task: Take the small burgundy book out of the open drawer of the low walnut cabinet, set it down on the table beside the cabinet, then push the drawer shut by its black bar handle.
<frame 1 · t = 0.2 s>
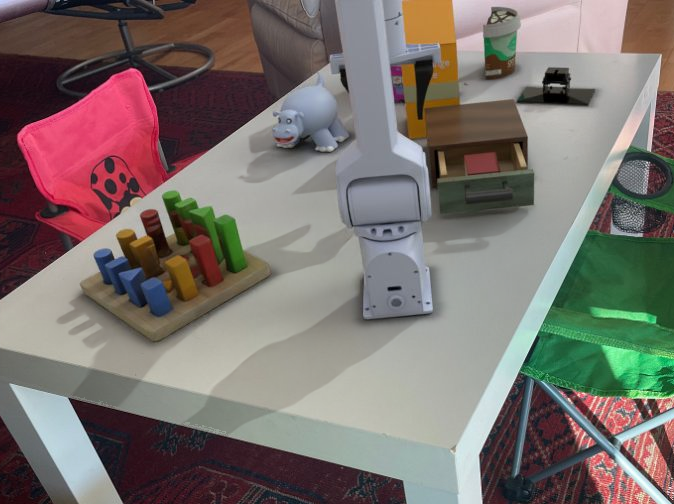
hand: (392, 120, 104), 10 cm above the table, tool pointing down, fingers open, 7 cm apart
candy bar box: (424, 99, 137), on the table
orange juice: (434, 128, 126), on the table
book: (482, 185, 104), point 2 cm above the table, touching drawer
drawer: (482, 178, 103), point 3 cm above the table, slide at 8.5 cm, touching book
hippopotamus toy: (309, 146, 125), on the table
toy refrigerator: (380, 88, 143), on the table
build plate: (556, 97, 131), on the table
peg board: (177, 285, 95), on the table
food container: (504, 71, 144), on the table
cabinet: (475, 162, 114), on the table
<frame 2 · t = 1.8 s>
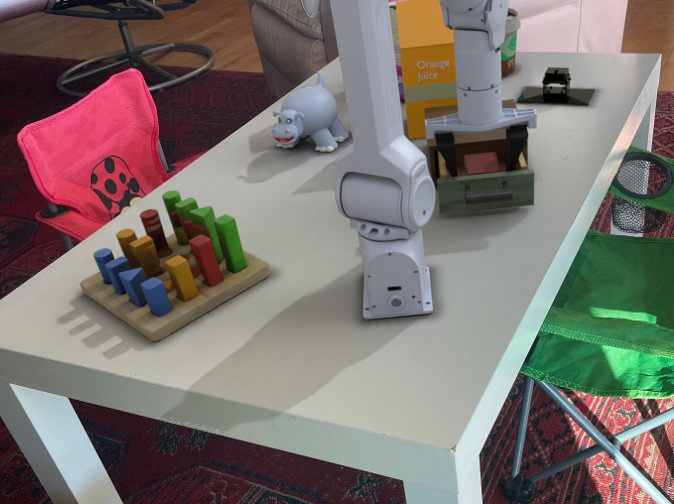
hand: (482, 181, 104), 2 cm above the table, tool pointing down
drawer: (482, 178, 103), point 3 cm above the table, slide at 8.5 cm, touching book, gripper
everything else where it was.
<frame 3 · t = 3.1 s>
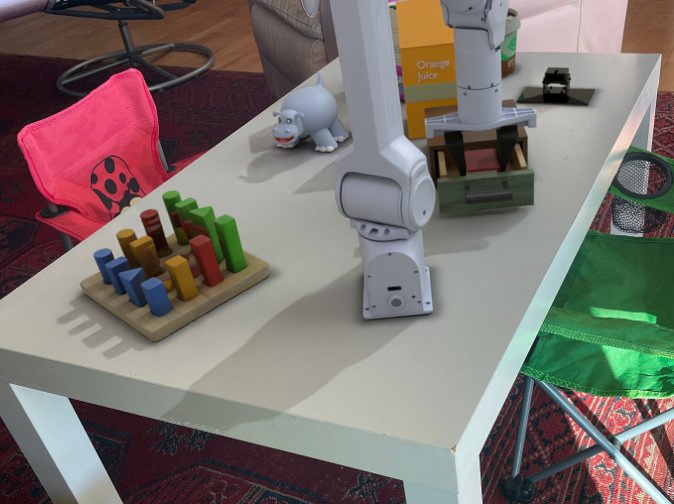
hand: (482, 181, 103), 3 cm above the table, tool pointing down, fingers closed on book, 4 cm apart
book: (482, 182, 104), point 2 cm above the table, touching gripper
drawer: (482, 178, 103), point 3 cm above the table, slide at 8.5 cm
everything else where it was.
when the fingers open (0 cm above the table, at t = 8.2 s): book stays where it is, on the table.
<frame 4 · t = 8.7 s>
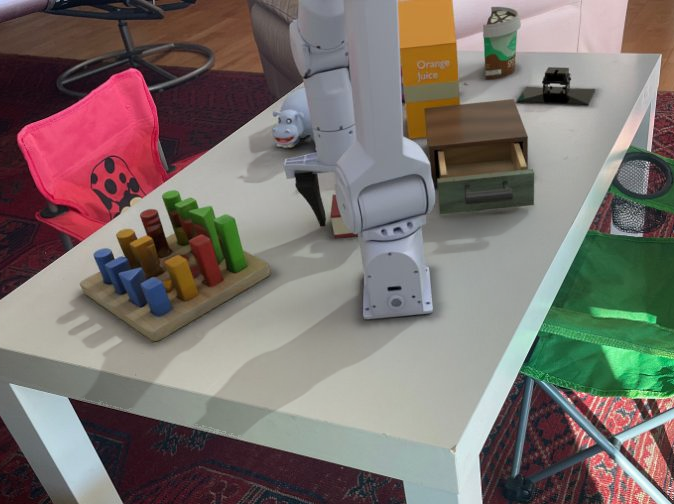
hand: (350, 220, 102), 1 cm above the table, tool pointing down, fingers open, 7 cm apart
book: (351, 225, 103), on the table
everything else where it was.
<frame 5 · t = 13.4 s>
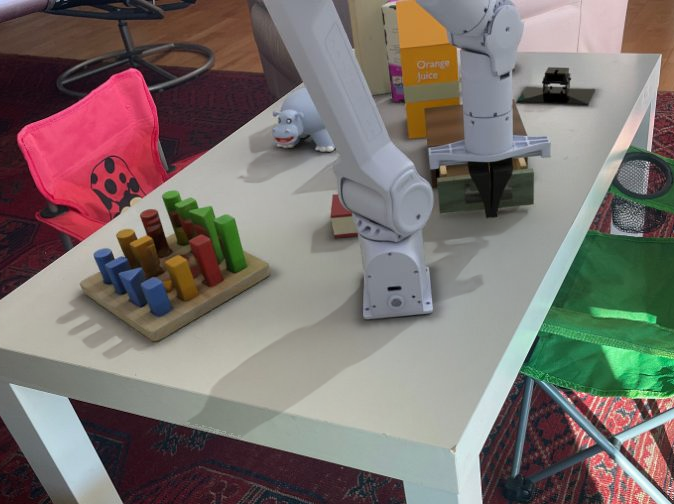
hand: (491, 213, 95), 3 cm above the table, tool pointing down, fingers closed, pressing on drawer
drawer: (482, 177, 103), point 3 cm above the table, slide at 8.3 cm, touching gripper
everything else where it was.
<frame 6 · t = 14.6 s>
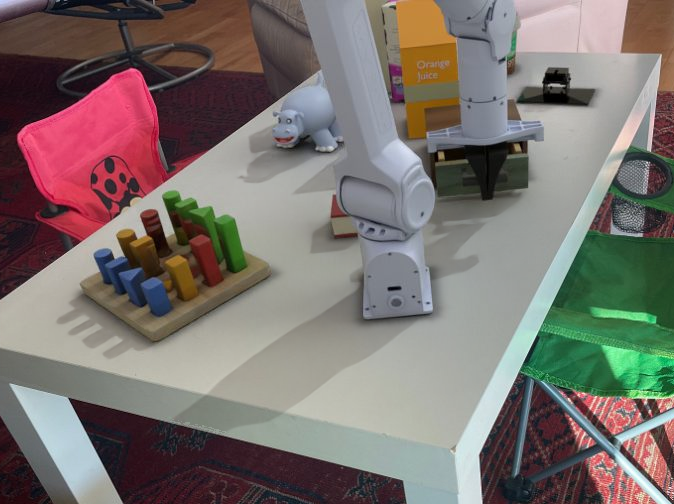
hand: (486, 196, 99), 3 cm above the table, tool pointing down, fingers closed, pressing on drawer
drawer: (479, 162, 107), point 3 cm above the table, slide at 3.5 cm, touching gripper
everything else where it was.
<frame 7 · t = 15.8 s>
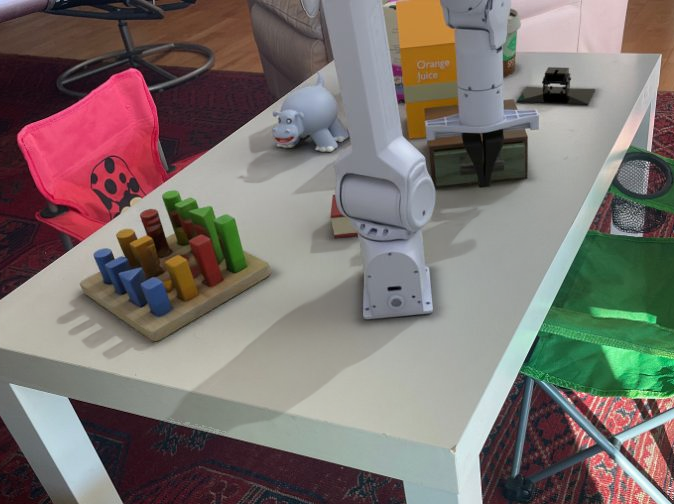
hand: (483, 184, 102), 3 cm above the table, tool pointing down, fingers closed, pressing on drawer
drawer: (476, 152, 109), point 3 cm above the table, slide at 0.0 cm, touching cabinet, gripper
everything else where it was.
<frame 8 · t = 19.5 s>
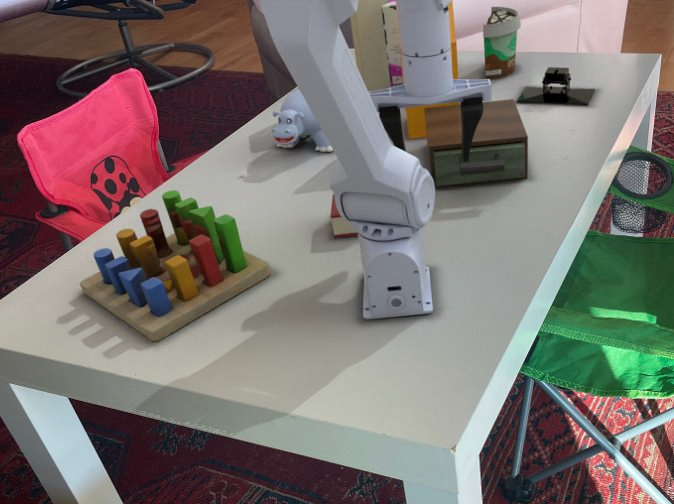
hand: (435, 161, 94), 9 cm above the table, tool pointing down, fingers open, 7 cm apart
drawer: (476, 152, 109), point 3 cm above the table, slide at 0.0 cm, touching cabinet
everything else where it was.
at the end: book inside the target area (0.1 cm from its centre), on the table; book tilted 0°; drawer slide at 0.0 cm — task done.
